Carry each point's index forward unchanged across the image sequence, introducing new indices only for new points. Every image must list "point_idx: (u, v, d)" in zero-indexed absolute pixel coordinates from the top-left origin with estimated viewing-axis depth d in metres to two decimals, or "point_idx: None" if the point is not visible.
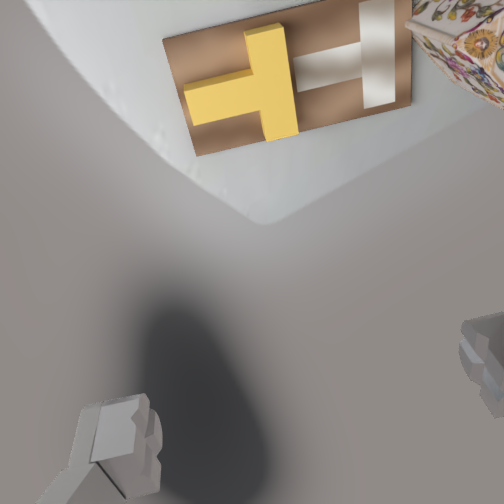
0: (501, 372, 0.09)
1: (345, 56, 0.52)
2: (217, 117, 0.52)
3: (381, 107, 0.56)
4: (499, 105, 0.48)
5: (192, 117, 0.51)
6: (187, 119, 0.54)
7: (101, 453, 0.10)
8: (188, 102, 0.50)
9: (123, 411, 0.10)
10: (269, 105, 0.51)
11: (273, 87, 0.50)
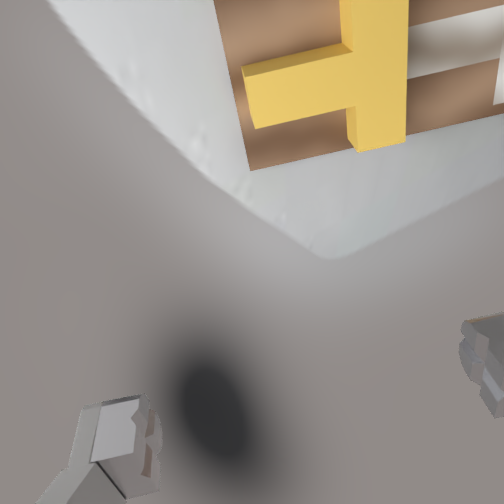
0: (501, 372, 0.09)
1: (481, 26, 0.35)
2: (291, 116, 0.34)
3: None
4: None
5: (254, 116, 0.34)
6: (241, 118, 0.37)
7: (101, 453, 0.10)
8: (250, 94, 0.33)
9: (123, 411, 0.10)
10: (369, 98, 0.34)
11: (378, 72, 0.33)
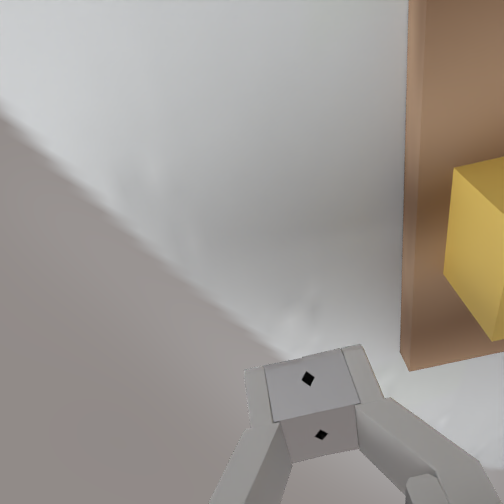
0: (316, 413, 0.10)
1: None
2: None
3: None
4: None
5: (502, 316, 0.12)
6: (420, 280, 0.15)
7: (282, 413, 0.09)
8: None
9: (291, 374, 0.10)
10: None
11: None
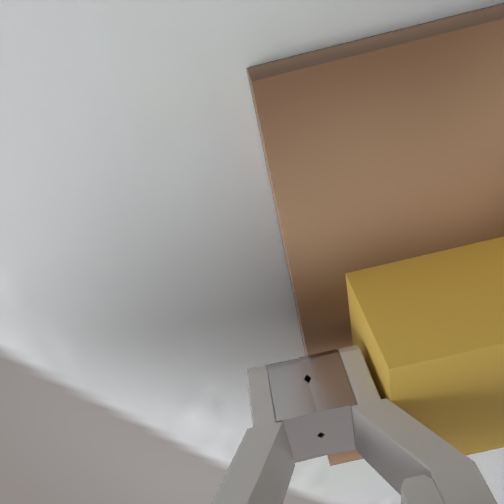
0: (313, 413, 0.10)
1: None
2: None
3: None
4: None
5: None
6: None
7: (285, 412, 0.09)
8: (398, 405, 0.09)
9: (293, 373, 0.10)
10: None
11: None
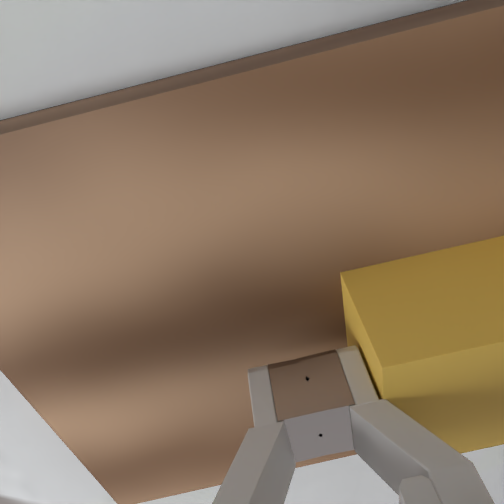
0: (311, 414, 0.10)
1: None
2: None
3: None
4: None
5: None
6: (65, 435, 0.14)
7: (286, 412, 0.09)
8: None
9: (295, 373, 0.10)
10: None
11: None
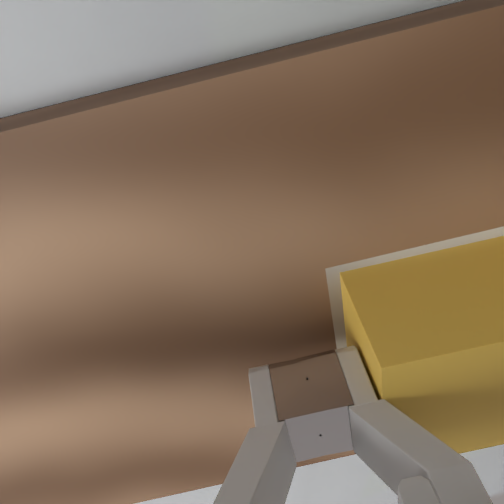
0: (310, 414, 0.10)
1: None
2: (503, 437, 0.11)
3: None
4: None
5: None
6: None
7: (287, 412, 0.09)
8: (390, 403, 0.09)
9: (295, 373, 0.10)
10: None
11: None
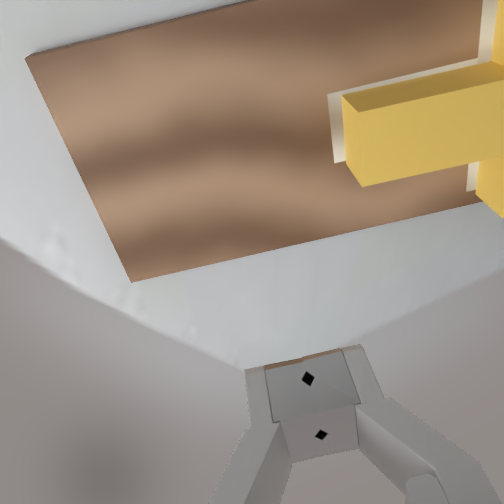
0: (316, 413, 0.10)
1: None
2: (417, 169, 0.23)
3: None
4: None
5: (363, 169, 0.23)
6: (104, 218, 0.26)
7: (282, 413, 0.09)
8: (363, 136, 0.22)
9: (291, 374, 0.10)
10: None
11: None
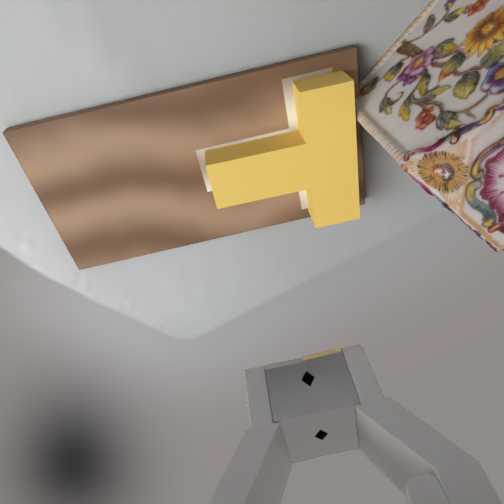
0: (316, 413, 0.10)
1: None
2: (250, 198, 0.37)
3: None
4: None
5: (216, 198, 0.36)
6: (58, 227, 0.40)
7: (282, 413, 0.09)
8: (211, 179, 0.35)
9: (291, 373, 0.10)
10: (323, 182, 0.37)
11: (331, 160, 0.36)
